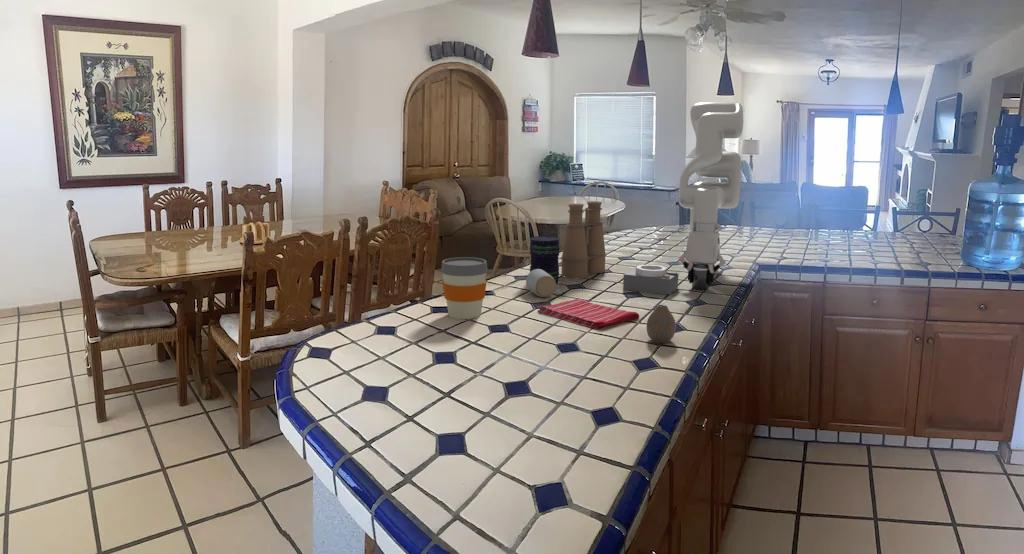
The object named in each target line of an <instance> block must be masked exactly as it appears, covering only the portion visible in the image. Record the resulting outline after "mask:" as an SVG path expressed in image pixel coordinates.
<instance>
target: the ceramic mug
mask: <svg viewBox="0 0 1024 554" xmlns="http://www.w3.org/2000/svg"><path fill="white" fill-rule="evenodd" d="M525 285H526V287H527V290H529V291H530V292H531V293H533V294H534V295H536V296H538V297H540V298H544V297H545V298H549V297H551V296H552V295H554V293H555V294H557V295H560V296H561V295H562V293H563V292H564V289H562V288H560V287H558V286H557V284H556V281H555V280H554V278H553V277H552V276H551V275H549V274H548V273H546V272H545V271H544V270H541V269H535V270H532V271H531V272H530V271H529V273H528V274H527V276H526V278H525Z"/></svg>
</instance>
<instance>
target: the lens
mask: <svg viewBox="0 0 1024 554" xmlns="http://www.w3.org/2000/svg"><path fill="white" fill-rule="evenodd" d="M709 271H710V269H709V265H708V264H704V263H694V264H693V277H692V283H691V290H693V289H695V290H694V291H697V290H707V289H708V290H709V289H710V288H709V286H710V285H708V273H709ZM708 290H707V291H708Z"/></svg>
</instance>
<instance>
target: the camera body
mask: <svg viewBox="0 0 1024 554" xmlns="http://www.w3.org/2000/svg"><path fill="white" fill-rule="evenodd" d="M678 286H679V273H678V272H676V271H669V270H668V267H666V266H663V265H658V264H657V265H656V264H640V265H637V266H636V267H635V268H632V269H630V270H629V271H627V272H625V273H624V274H623V285H622V290H625V291H632V292H633V291H634V292H642V293H649V294H650V293H651V294H657V293H659V295H665V294H669V295H668V296H670V295H671V294H673V293H674V292H675V291H676V290H678V289H679V287H678ZM677 288H678V289H677ZM673 291H674V292H673ZM672 292H673V293H672Z"/></svg>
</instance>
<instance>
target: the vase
mask: <svg viewBox="0 0 1024 554" xmlns="http://www.w3.org/2000/svg"><path fill="white" fill-rule="evenodd" d="M676 327H677V324H676V320H675V317H674V315H673V313H671V311H670V309H669V307H668V306H667V305H666V304H658V305H656V307H655V309H654V310H653V311H652V312H651V314H650V315H649V316H648V318H647V321H646V332H647V336H648V337H649V339H650V340H651V341H652V342H653V343H658V344H666V343H667V344H668V343H669V342H670V341H671V340H672V339H673V338H674V337H675V334H676V329H677V328H676Z"/></svg>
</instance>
